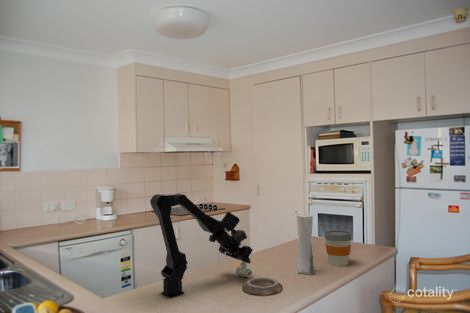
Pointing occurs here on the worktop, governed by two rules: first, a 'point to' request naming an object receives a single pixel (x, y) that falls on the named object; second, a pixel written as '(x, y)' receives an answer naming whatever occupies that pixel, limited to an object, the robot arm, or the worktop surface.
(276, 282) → the collar base
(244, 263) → the valve
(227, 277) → the worktop surface
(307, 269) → the skyscraper
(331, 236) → the reusable coffee cup
